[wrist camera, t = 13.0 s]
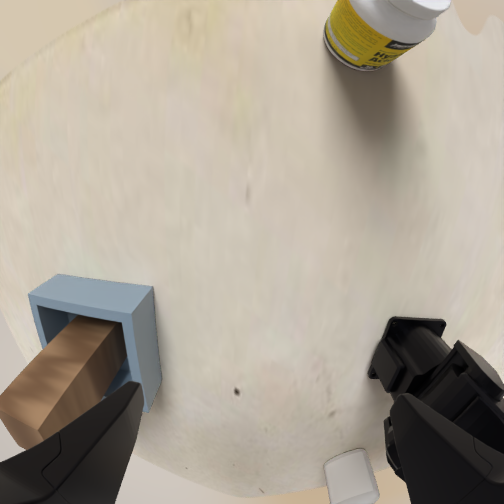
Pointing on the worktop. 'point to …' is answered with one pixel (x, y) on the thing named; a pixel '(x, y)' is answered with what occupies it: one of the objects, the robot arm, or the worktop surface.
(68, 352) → the upright wooden block
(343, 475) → the eye dropper bottle
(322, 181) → the worktop surface
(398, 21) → the supplement bottle
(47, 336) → the holder
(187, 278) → the worktop surface
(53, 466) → the robot arm
